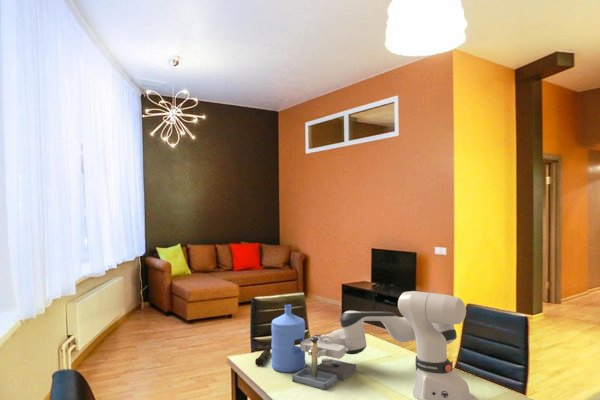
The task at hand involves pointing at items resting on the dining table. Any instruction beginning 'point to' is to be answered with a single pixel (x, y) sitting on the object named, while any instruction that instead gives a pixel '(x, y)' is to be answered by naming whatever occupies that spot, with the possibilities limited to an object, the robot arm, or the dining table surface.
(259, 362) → the hand tool
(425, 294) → the robot arm
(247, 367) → the dining table surface
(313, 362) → the lock pin
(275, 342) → the water jug
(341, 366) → the block
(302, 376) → the tray
